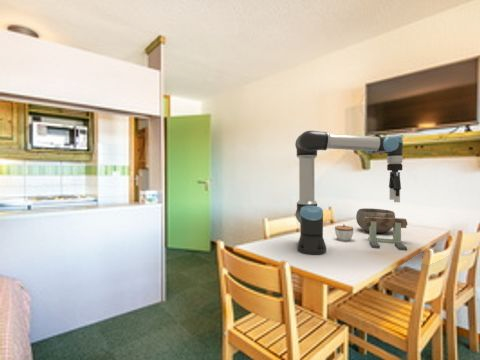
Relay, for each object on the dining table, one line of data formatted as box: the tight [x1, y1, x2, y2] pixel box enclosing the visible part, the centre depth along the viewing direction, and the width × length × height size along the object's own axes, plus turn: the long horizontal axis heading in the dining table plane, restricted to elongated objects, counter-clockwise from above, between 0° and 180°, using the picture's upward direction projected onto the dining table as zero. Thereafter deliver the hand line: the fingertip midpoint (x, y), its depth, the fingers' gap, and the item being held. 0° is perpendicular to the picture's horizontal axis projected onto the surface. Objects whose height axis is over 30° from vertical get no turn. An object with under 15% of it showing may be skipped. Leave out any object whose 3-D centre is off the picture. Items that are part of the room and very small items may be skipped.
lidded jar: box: [334, 224, 354, 242], centre depth 165 cm, size 11×11×9 cm
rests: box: [368, 240, 408, 251], centre depth 149 cm, size 17×9×2 cm, turn 72°
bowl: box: [355, 207, 396, 234], centre depth 185 cm, size 24×24×15 cm
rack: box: [367, 221, 403, 244], centre depth 160 cm, size 17×6×12 cm, turn 72°
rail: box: [363, 217, 408, 229], centre depth 160 cm, size 23×4×5 cm, turn 72°
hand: (394, 200), depth 152 cm, fingers open, 13 cm apart
